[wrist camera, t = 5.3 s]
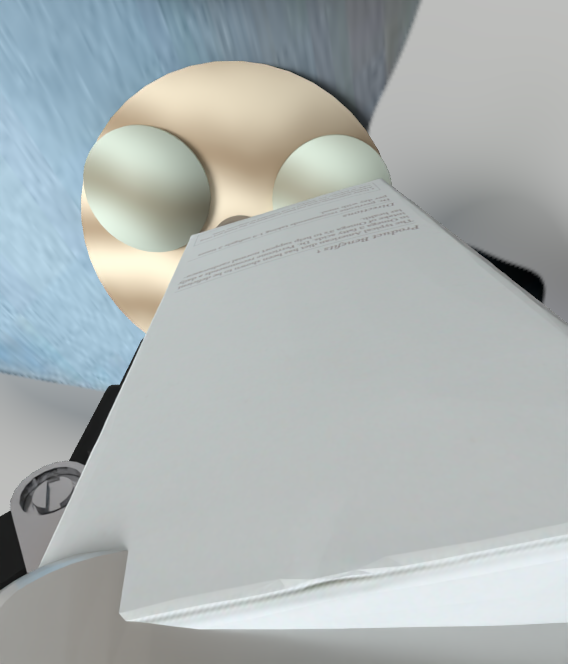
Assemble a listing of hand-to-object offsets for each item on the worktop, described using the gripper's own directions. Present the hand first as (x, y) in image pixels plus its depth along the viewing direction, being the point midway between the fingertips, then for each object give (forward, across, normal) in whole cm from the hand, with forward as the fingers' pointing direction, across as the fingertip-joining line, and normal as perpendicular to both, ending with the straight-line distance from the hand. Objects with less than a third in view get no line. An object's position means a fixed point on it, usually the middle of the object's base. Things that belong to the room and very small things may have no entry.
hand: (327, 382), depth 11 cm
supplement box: (+6, 0, 0) cm, 6 cm away
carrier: (+20, +4, +3) cm, 21 cm away
